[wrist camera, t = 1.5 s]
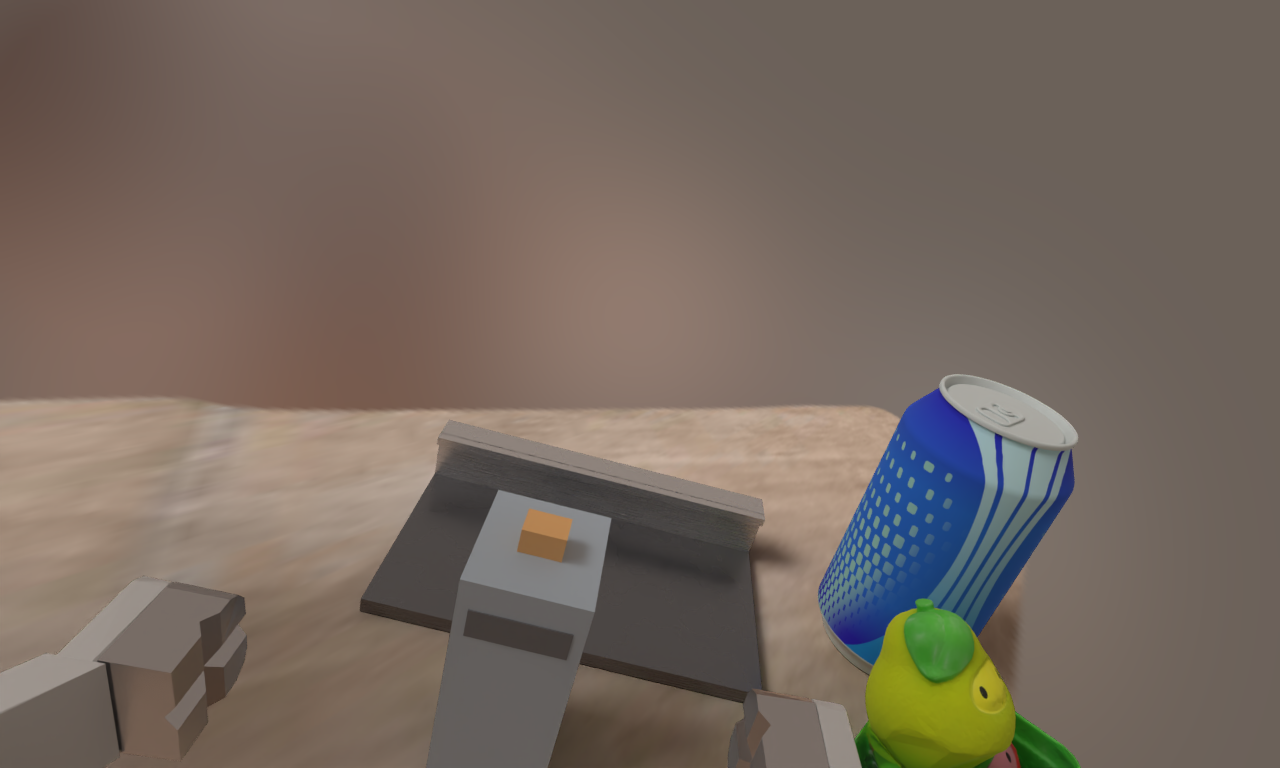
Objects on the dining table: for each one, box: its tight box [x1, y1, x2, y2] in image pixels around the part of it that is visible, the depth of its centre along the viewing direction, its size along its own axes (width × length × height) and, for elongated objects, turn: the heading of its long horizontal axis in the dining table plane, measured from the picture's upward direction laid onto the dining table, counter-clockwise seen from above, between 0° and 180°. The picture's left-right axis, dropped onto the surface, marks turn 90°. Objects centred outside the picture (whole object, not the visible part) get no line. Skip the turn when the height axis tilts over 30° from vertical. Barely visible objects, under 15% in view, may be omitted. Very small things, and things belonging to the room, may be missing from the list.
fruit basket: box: [854, 598, 1081, 768], centre depth 29 cm, size 11×9×11 cm
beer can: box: [818, 374, 1078, 675], centre depth 38 cm, size 8×8×16 cm
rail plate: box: [360, 420, 765, 703], centre depth 40 cm, size 20×14×4 cm
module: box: [426, 490, 611, 768], centre depth 28 cm, size 4×5×12 cm
